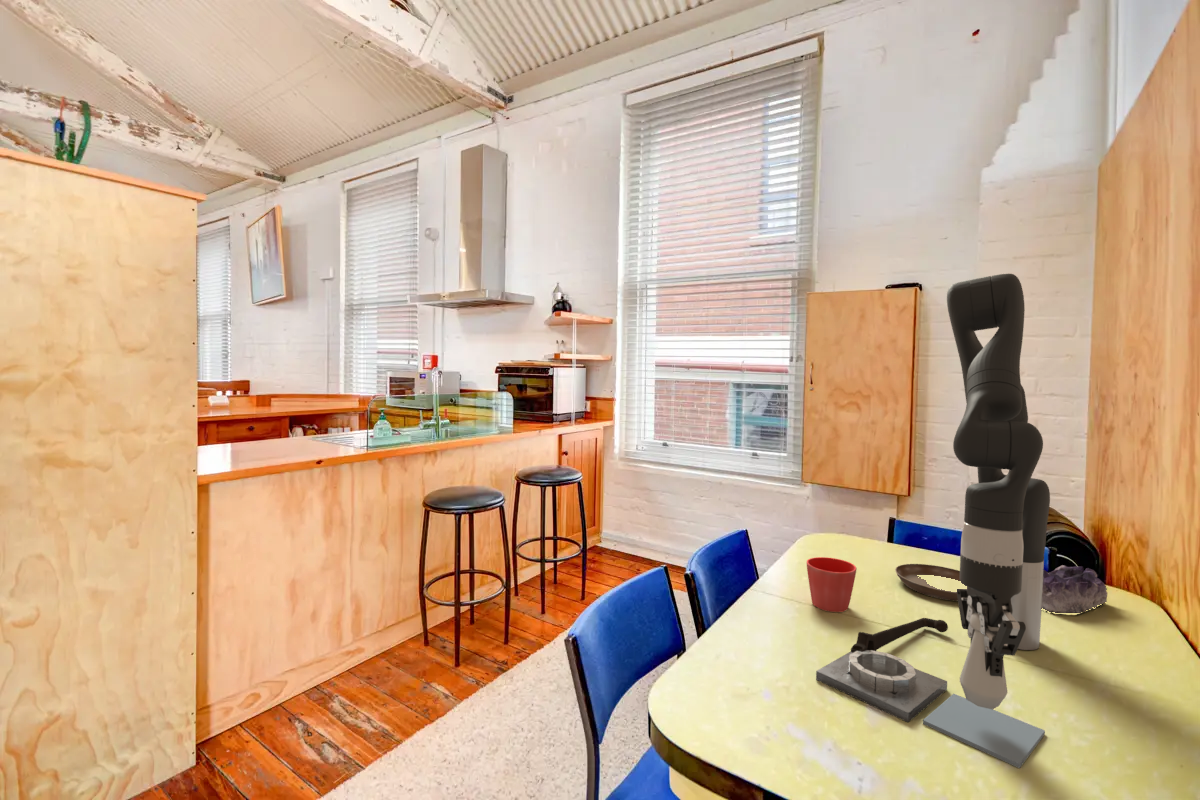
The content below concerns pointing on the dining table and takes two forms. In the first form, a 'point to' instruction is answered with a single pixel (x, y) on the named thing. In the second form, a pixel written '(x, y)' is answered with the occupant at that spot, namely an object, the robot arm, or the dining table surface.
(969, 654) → the salt shaker
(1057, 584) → the geode
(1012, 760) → the rubber mat
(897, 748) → the dining table surface
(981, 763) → the dining table surface
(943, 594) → the plant saucer
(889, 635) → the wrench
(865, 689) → the eye plate
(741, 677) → the dining table surface
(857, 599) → the dining table surface
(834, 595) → the flower pot
